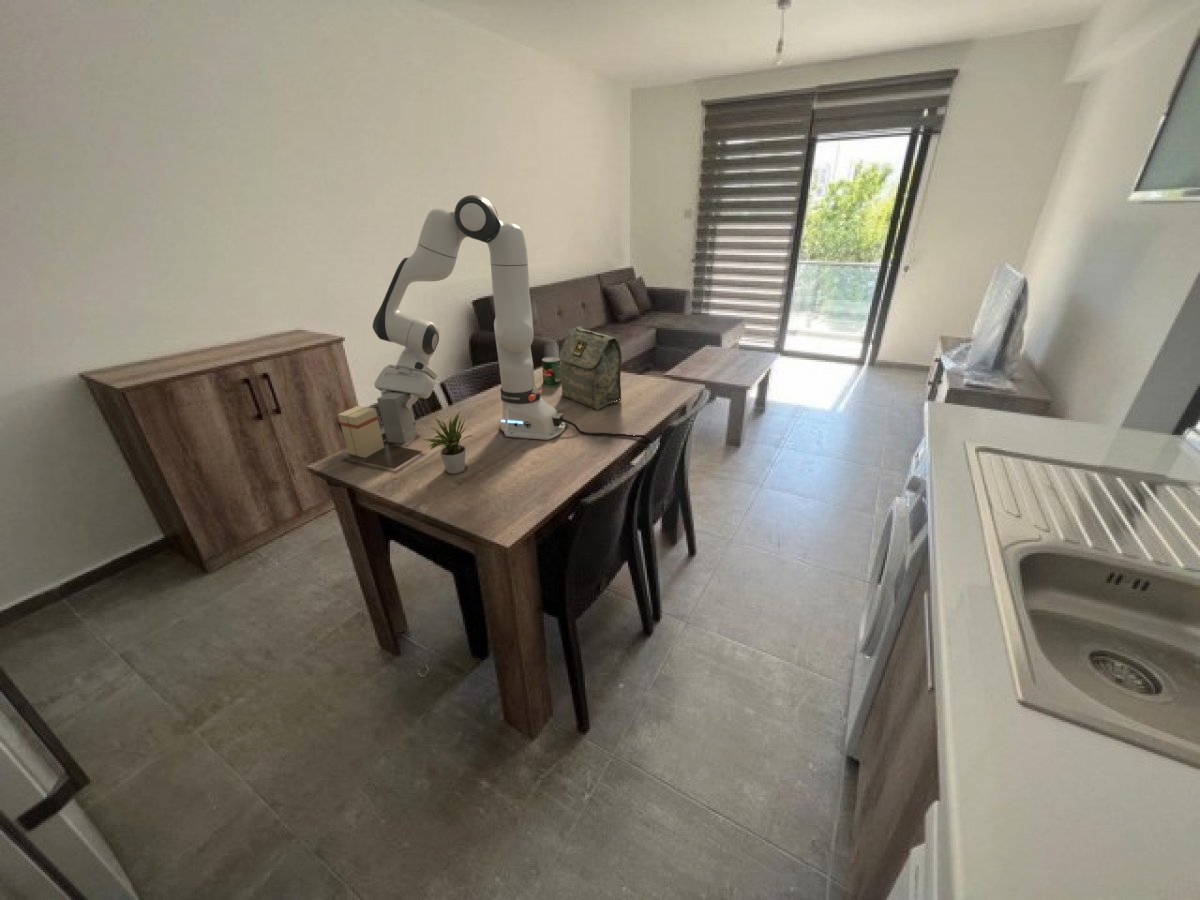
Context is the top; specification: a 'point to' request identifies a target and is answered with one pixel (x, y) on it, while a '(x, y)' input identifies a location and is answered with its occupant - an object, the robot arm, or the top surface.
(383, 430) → the blue-grey rectangular block
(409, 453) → the brown flat rectangular panel
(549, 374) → the canned tomato
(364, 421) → the cream boxes
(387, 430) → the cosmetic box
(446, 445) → the house plant
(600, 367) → the lunch bag
